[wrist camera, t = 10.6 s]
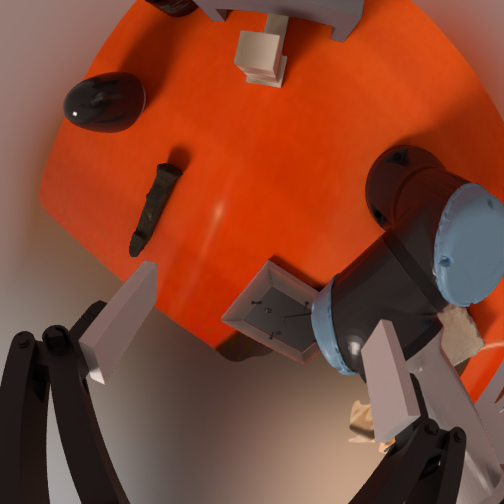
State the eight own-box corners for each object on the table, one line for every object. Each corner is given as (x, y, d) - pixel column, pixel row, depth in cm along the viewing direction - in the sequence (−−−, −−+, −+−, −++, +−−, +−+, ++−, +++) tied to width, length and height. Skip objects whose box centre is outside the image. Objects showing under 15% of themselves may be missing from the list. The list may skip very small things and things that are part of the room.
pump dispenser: (157, 126, 40) (101, 135, 27) (107, 133, 41) (47, 148, 28) (155, 68, 35) (100, 56, 22) (105, 80, 36) (45, 79, 23)
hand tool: (166, 159, 43) (154, 164, 39) (185, 171, 43) (175, 177, 39) (129, 242, 51) (117, 253, 47) (145, 253, 52) (134, 265, 48)
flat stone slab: (463, 282, 46) (392, 335, 52) (481, 301, 39) (404, 359, 45) (475, 338, 54) (418, 379, 60) (487, 356, 47) (426, 399, 53)
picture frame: (355, 313, 52) (268, 257, 49) (357, 322, 50) (267, 264, 47) (304, 357, 60) (223, 313, 57) (304, 365, 58) (220, 321, 54)
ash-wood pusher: (313, -13, 26) (319, -55, 14) (290, 90, 35) (291, 77, 23) (261, -21, 26) (249, -63, 14) (237, 80, 35) (214, 65, 24)
